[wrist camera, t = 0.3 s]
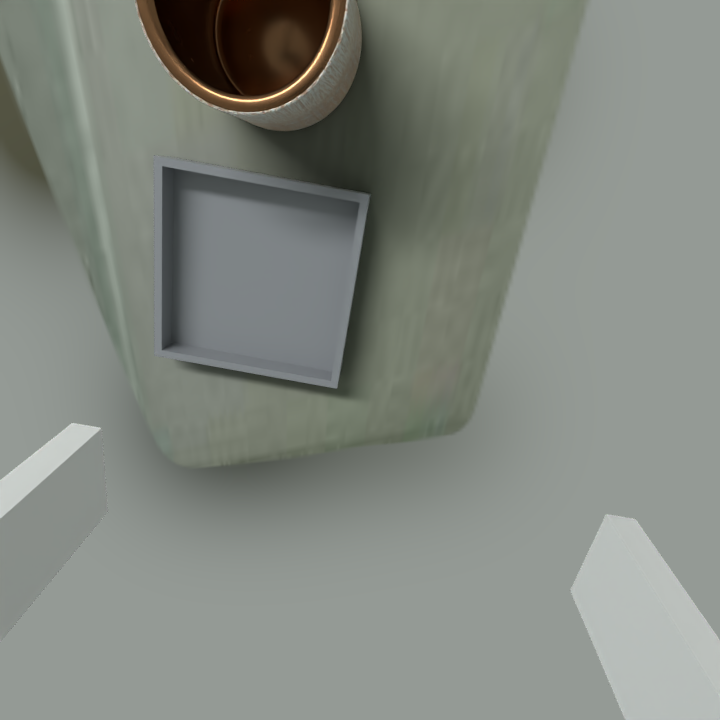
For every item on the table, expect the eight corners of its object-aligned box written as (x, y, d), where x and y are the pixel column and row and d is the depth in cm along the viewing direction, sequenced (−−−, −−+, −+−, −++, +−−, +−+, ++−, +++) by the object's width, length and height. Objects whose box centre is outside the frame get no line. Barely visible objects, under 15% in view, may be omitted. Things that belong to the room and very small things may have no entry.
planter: (373, 117, 32) (367, 96, 23) (226, 144, 34) (167, 134, 25) (348, -78, 28) (329, -191, 20) (183, -39, 30) (94, -130, 21)
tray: (169, 156, 34) (153, 155, 32) (371, 193, 34) (369, 195, 32) (168, 345, 40) (154, 355, 38) (340, 376, 40) (337, 388, 38)
